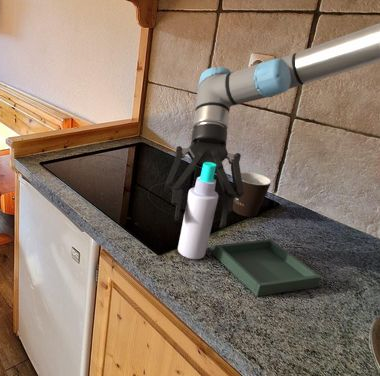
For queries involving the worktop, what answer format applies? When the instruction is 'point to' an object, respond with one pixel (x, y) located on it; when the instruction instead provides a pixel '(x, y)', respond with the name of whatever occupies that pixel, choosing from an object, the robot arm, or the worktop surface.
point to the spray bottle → (199, 214)
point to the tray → (266, 267)
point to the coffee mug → (251, 194)
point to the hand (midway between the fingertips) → (199, 222)
